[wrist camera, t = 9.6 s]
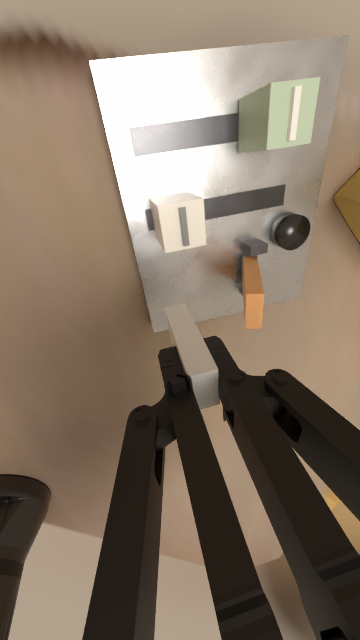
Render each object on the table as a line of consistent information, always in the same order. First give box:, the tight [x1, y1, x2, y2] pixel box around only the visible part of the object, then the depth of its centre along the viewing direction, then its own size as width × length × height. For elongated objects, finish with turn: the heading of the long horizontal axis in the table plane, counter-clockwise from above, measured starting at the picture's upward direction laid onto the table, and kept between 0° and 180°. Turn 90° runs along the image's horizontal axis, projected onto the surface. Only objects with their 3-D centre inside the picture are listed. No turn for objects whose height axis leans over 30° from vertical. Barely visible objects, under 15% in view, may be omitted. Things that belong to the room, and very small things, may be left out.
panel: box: [89, 35, 348, 333], centre depth 21 cm, size 17×20×4 cm
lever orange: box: [241, 254, 264, 329], centre depth 20 cm, size 1×3×8 cm, turn 7°
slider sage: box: [238, 77, 320, 153], centre depth 15 cm, size 3×3×4 cm
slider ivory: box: [149, 192, 206, 253], centre depth 17 cm, size 3×3×4 cm
